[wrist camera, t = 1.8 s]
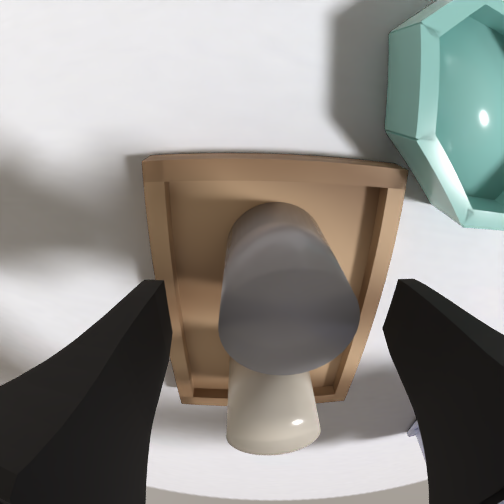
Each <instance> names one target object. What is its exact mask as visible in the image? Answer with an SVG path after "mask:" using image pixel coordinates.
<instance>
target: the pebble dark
mask: <svg viewBox="0 0 504 504" xmlns="http://www.w3.org/2000/svg"><path fill="white" fill-rule="evenodd" d="M359 321H360V308H359V304H358V301H357V298H356V296H355V294H354V292H353V290H352V288H351V286H350V284H349V282H348V280H347V278H346V276H345V274H344V272H343V271H342V269H341V267H340V265H339V263H338V261H337V259H336V257H335V255H334V253H333V252H332V250H331V248H330V246H329V244H328V242H327V240H326V239H325V237H324V235H323V233H322V231H321V229H320V228H319V226H318V224H317V222H316V221H315V220H314V218H313V217H312V216H311V215H310V214H309V213H308V212H306V211H305V210H304V209H302V208H300V207H298V206H296V205H293V204H290V203H285V202H269V203H264V204H260V205H257V206H255V207H253V208H251V209H249V210H248V211H246V212H245V213H243V214H242V215H241V216H240V217H239V218H238V219H237V220H236V222H235V223H234V224H233V226H232V228H231V230H230V232H229V235H228V239H227V245H226V254H225V263H224V272H223V282H222V292H221V302H220V312H219V322H218V332H219V337H220V340H221V343H222V345H223V347H224V349H225V350H226V352H227V353H228V354H229V355H230V356H231V357H232V358H233V359H234V360H235V361H236V362H238V363H239V364H241V365H242V366H244V367H246V368H248V369H250V370H253V371H256V372H259V373H263V374H269V375H294V374H300V373H304V372H308V371H311V370H314V369H317V368H319V367H321V366H323V365H325V364H327V363H328V362H330V361H332V360H333V359H334V358H336V357H337V356H338V355H339V354H341V353H342V352H343V351H344V350H345V349H346V348H347V346H348V345H349V344H350V342H351V341H352V340H353V338H354V336H355V334H356V332H357V329H358V326H359Z"/></svg>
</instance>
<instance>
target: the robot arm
mask: <svg viewBox="0 0 504 504" xmlns="http://www.w3.org/2000/svg"><path fill="white" fill-rule="evenodd" d="M383 332H384V335H385V339H386V343H387V346H388V349H389V352H390V355H391V358H392V360H393V362H394V365H395V367H396V369H397V371H398V374H399V376H400V378H401V381H402V383H403V385H404V387H405V390H406V392H407V395H408V397H409V399H410V402H411V404H412V406H413V409H414V412H415V415H416V418H417V420H416V422H415V423H414V424H413V426H412V427H411V428H410V429H409V431H408V432H407V435H408V436H409V437H410V436H414V435H416V437H417V439H418V442H419V445H420V448H421V450H422V453H423V456H424V459H425V462H426V465H427V474H428V484H429V504H504V335H503V334H501V333H499V332H498V331H496V330H494V329H493V328H491V327H489V326H488V325H486V324H485V323H483V322H481V321H480V320H478V319H477V318H475V317H474V316H472V315H471V314H469V313H468V312H466V311H465V310H463V309H462V308H460V307H459V306H457V305H456V304H454V303H453V302H451V301H450V300H448V299H447V298H445V297H444V296H442V295H441V294H439V293H438V292H436V291H434V290H433V289H431V288H430V287H428V286H426V285H425V284H423V283H421V282H419V281H417V280H415V279H398V282H397V285H396V289H395V292H394V295H393V298H392V302H391V305H390V308H389V311H388V314H387V317H386V320H385V323H384V325H383ZM172 335H173V331H172V325H171V320H170V314H169V308H168V302H167V296H166V289H165V282H164V280H144V281H143V282H141V283H140V284H139V285H138V286H137V287H135V288H134V289H133V290H132V291H131V292H130V293H129V294H128V295H127V296H126V297H124V298H123V299H122V300H121V301H120V302H119V303H118V304H117V305H116V306H114V307H113V308H112V309H111V310H110V311H109V312H108V313H107V314H106V315H104V316H103V317H102V318H101V319H100V320H99V321H97V322H96V323H95V324H94V325H92V326H91V327H90V328H89V329H88V330H86V331H85V332H84V333H83V334H82V335H80V336H79V337H78V338H77V339H75V340H74V341H73V342H72V343H70V344H69V345H68V346H66V347H65V348H63V349H62V350H61V351H59V352H58V353H56V354H55V355H53V356H52V357H50V358H49V359H47V360H46V361H44V362H43V363H41V364H39V365H38V366H36V367H34V368H33V369H31V370H29V371H27V372H26V373H24V374H22V375H21V376H19V377H17V378H15V379H13V380H11V381H9V382H7V383H5V384H3V385H1V386H0V504H145V500H146V477H147V463H148V453H149V443H150V435H151V429H152V424H153V419H154V415H155V411H156V407H157V404H158V400H159V396H160V392H161V388H162V385H163V381H164V377H165V373H166V369H167V366H168V362H169V356H170V349H171V342H172Z"/></svg>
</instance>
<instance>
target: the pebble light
mask: <svg viewBox="0 0 504 504" xmlns="http://www.w3.org/2000/svg"><path fill="white" fill-rule="evenodd" d="M320 432H321V429H320V423H319V418H318V413H317V408H316V402H315V397H314V392H313V387H312V382H311V377H310V372H309V371H308V372H304V373H300V374H294V375H269V374H263V373H259V372H256V371H253V370H250V369H248V368H246V367H244V366H242V365H241V364H239V363H238V362H236V361H235V360H234V359H233V358H232V357H231V356H230V357H229V380H228V405H227V434H226V438H227V441H228V443H229V444H230V445H231V446H232V447H234V448H236V449H237V450H240V451H242V452H245V453H249V454H255V455H279V454H285V453H290V452H294V451H297V450H300V449H302V448H304V447H306V446H308V445H310V444H311V443H313V442H314V441H315V440H316V439H317V438H318V437H319V435H320Z"/></svg>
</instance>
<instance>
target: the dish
mask: <svg viewBox="0 0 504 504" xmlns="http://www.w3.org/2000/svg"><path fill="white" fill-rule="evenodd" d="M389 33H390V34H389V58H388V87H387V104H386V118H385V129H386V131H385V132H386V133H387V135H388V136H389V138H390V139H391V141H392V142H393V144H394V145H395V146H396V148H397V149H398V151H399V152H400V154H401V155H402V157H403V158H404V160H405V162H406V163H407V165H408V166H409V168H410V169H411V171H412V173H413V174H414V176H415V178H416V179H417V181H418V183H419V184H420V186H421V188H422V189H423V191H424V193H425V194H426V196H427V198H428V200H429V202H430V203H431V204H432V205H433V206H434V207H436V208H437V209H439V210H440V211H442V212H443V213H444V214H446V215H447V216H448V217H450V218H451V219H453V220H454V221H455V222H457V223H458V224H459V225H461V226H462V227H464V228H478V229H491V230H503V231H504V1H502V0H437V1H435V2H434V3H432V4H431V5H429V6H428V7H426V8H425V9H423V10H422V11H420V12H419V13H417V14H416V15H414V16H413V17H411V18H410V19H408V20H407V21H405V22H404V23H402V24H401V25H399V26H398V27H397V28H395V29H394V30H392V31H391V32H389Z"/></svg>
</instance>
